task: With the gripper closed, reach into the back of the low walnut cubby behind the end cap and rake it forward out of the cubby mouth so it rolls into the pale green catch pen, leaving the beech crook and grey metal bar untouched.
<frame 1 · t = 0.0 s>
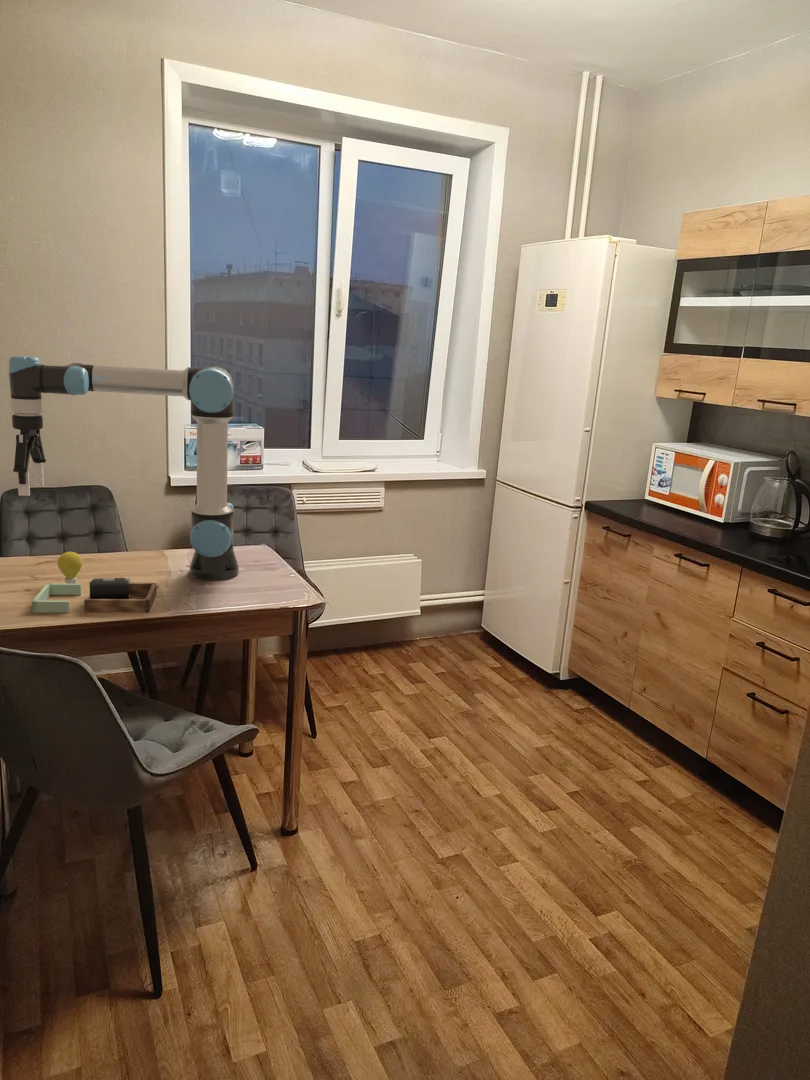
hand: (31, 490, 214), 28 cm above the table, fingers open, 13 cm apart
end cap: (109, 604, 211), on the table
cubby: (121, 602, 212), on the table
light bulb: (71, 585, 223), on the table
catch pen: (57, 602, 209), on the table
grey metal bar: (112, 583, 228), on the table
beech crook: (141, 588, 224), on the table
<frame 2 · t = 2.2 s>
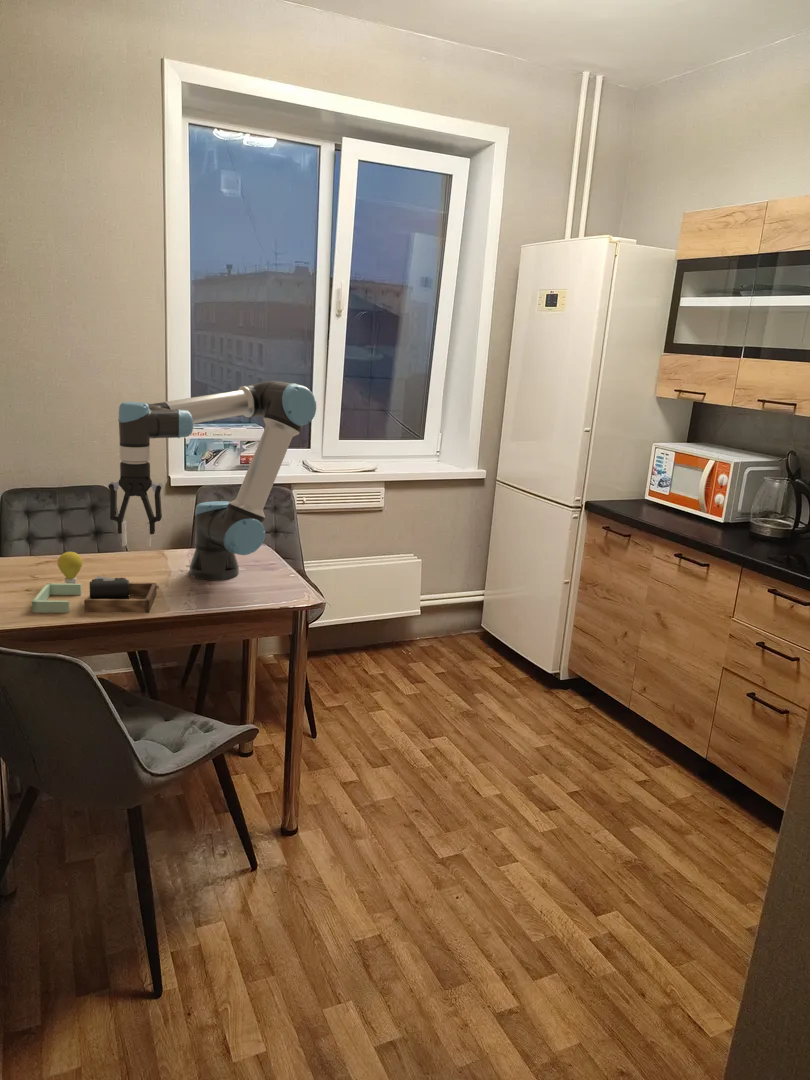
hand: (136, 545, 208), 17 cm above the table, fingers open, 6 cm apart
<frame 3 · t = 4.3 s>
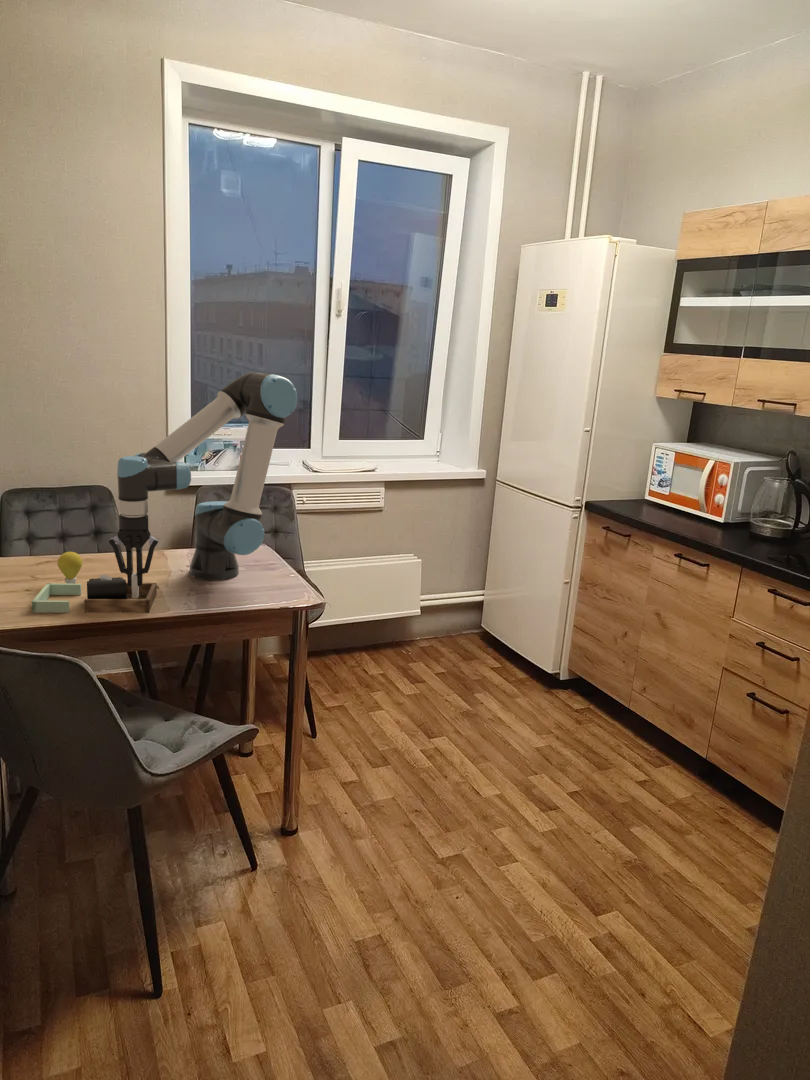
hand: (135, 596, 212), 2 cm above the table, fingers closed
end cap: (107, 603, 211), on the table, touching gripper
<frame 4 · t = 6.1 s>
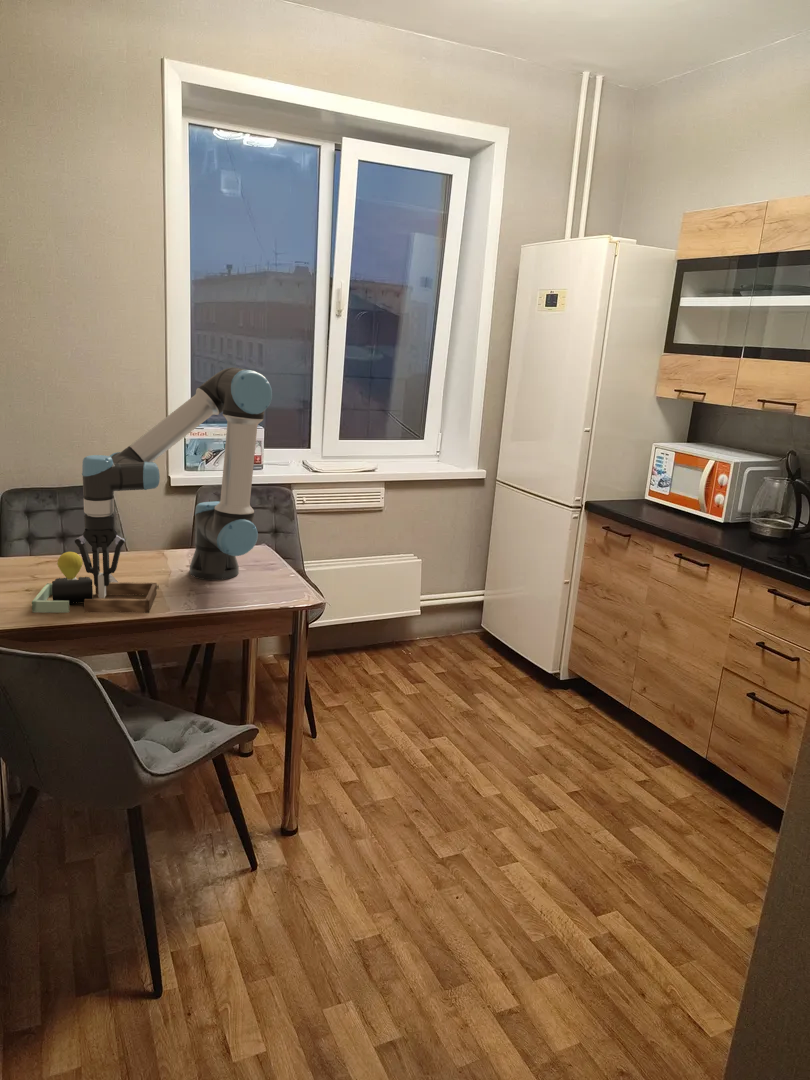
hand: (102, 596, 210), 2 cm above the table, fingers closed
end cap: (73, 603, 210), on the table, touching gripper
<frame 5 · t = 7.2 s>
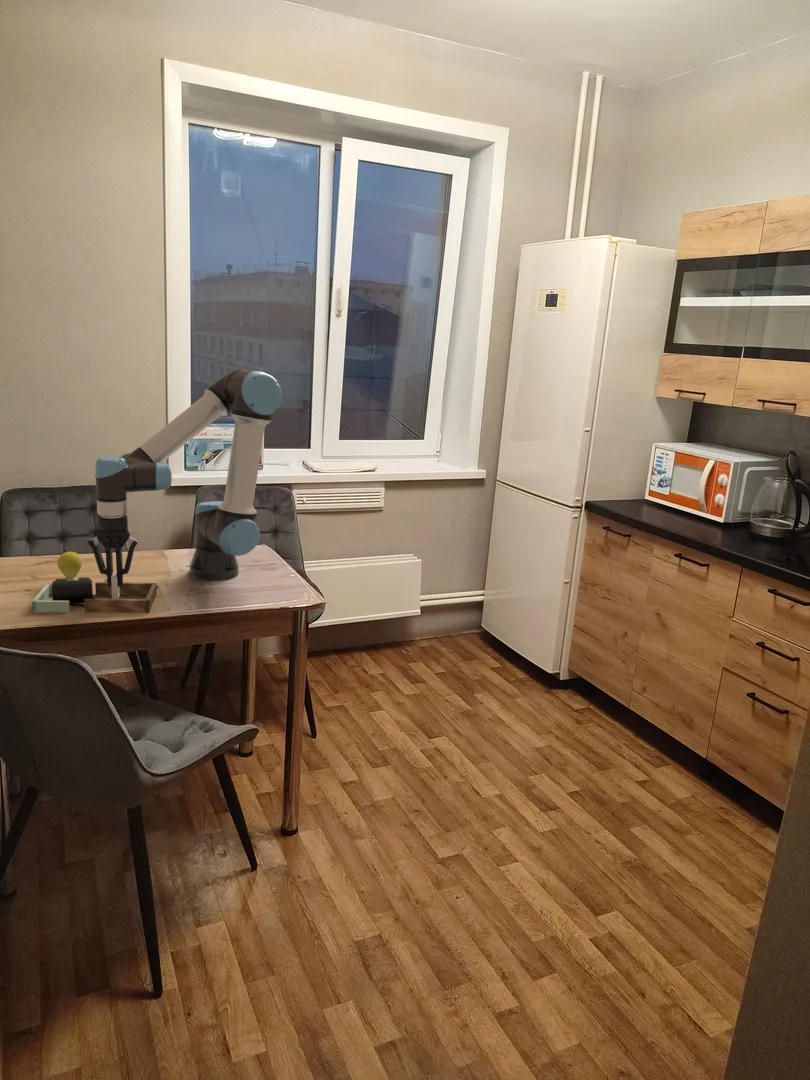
hand: (115, 597, 211), 2 cm above the table, fingers closed
end cap: (73, 603, 210), on the table
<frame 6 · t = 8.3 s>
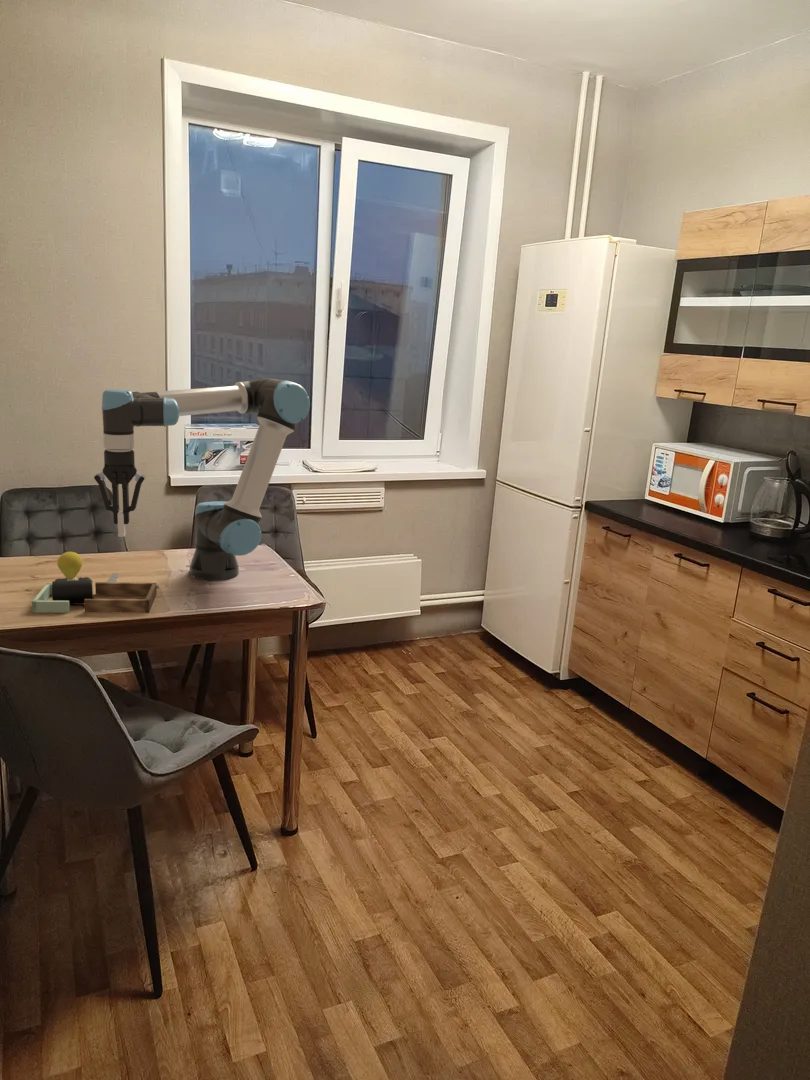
hand: (122, 535, 207), 19 cm above the table, fingers closed
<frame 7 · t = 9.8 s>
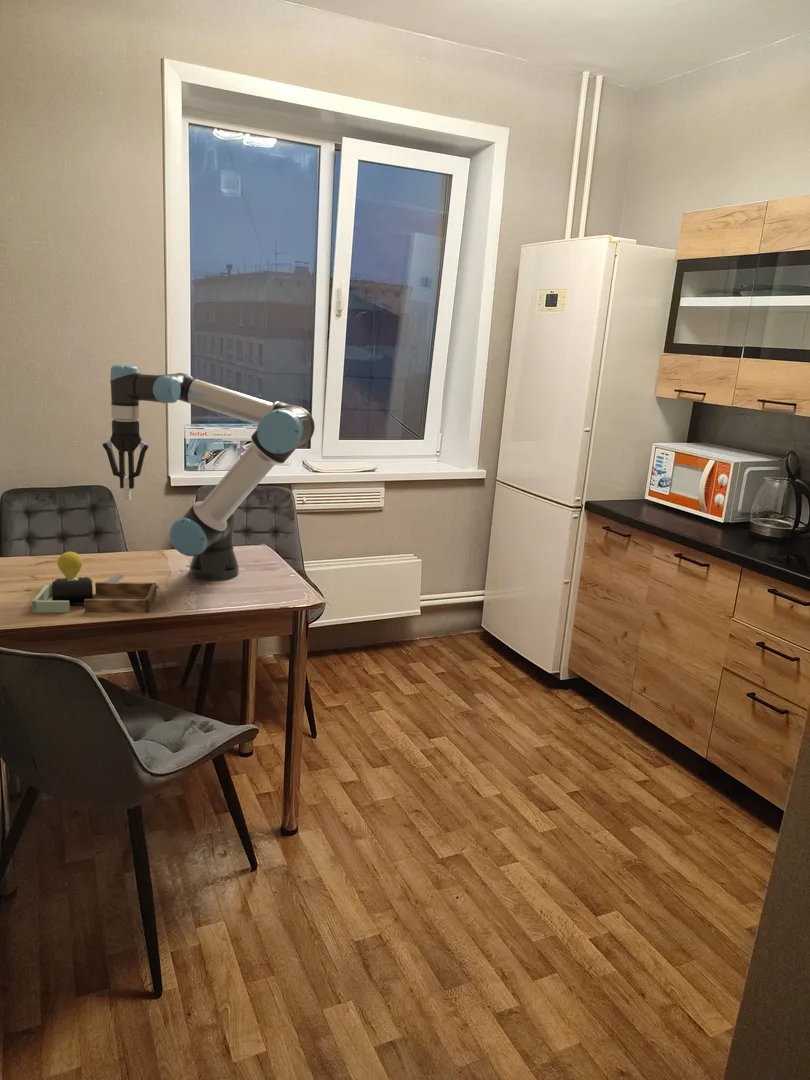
hand: (127, 499, 227), 24 cm above the table, fingers closed
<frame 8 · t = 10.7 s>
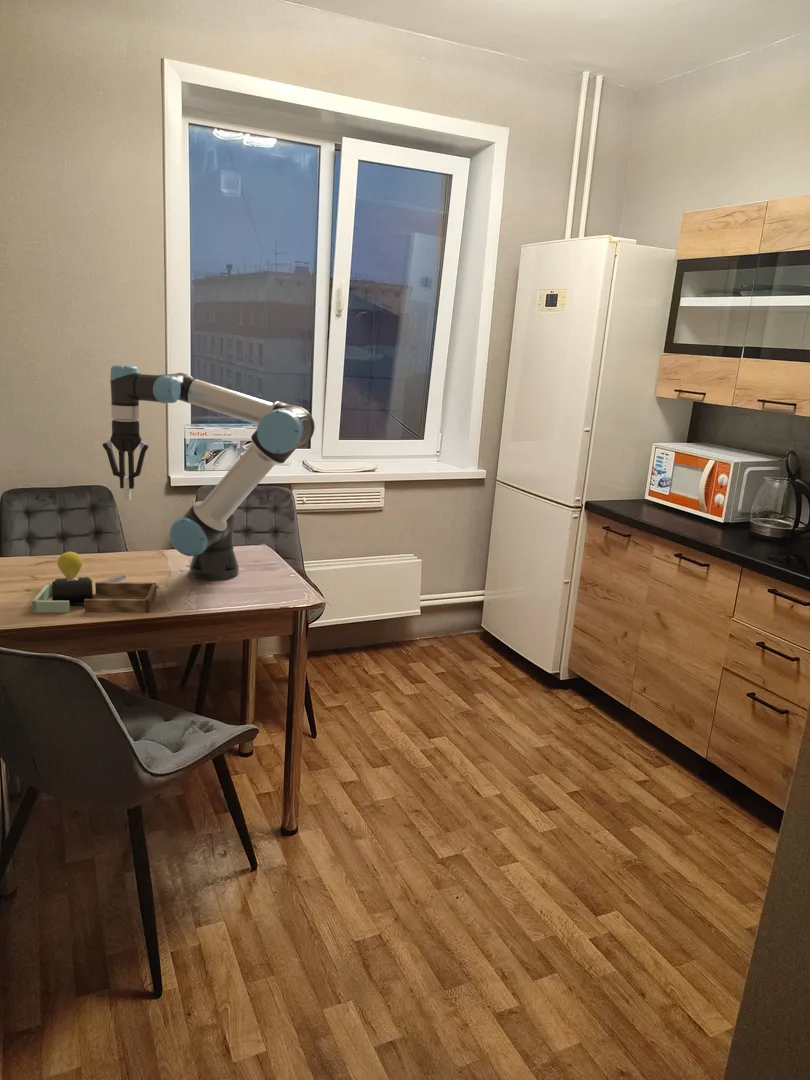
hand: (127, 499, 227), 24 cm above the table, fingers closed
at the end: end cap inside the target area on the catch pen (2.2 cm from its centre), point 0.0 cm above the catch pen's base; end cap moved 9.5 cm from its start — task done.
